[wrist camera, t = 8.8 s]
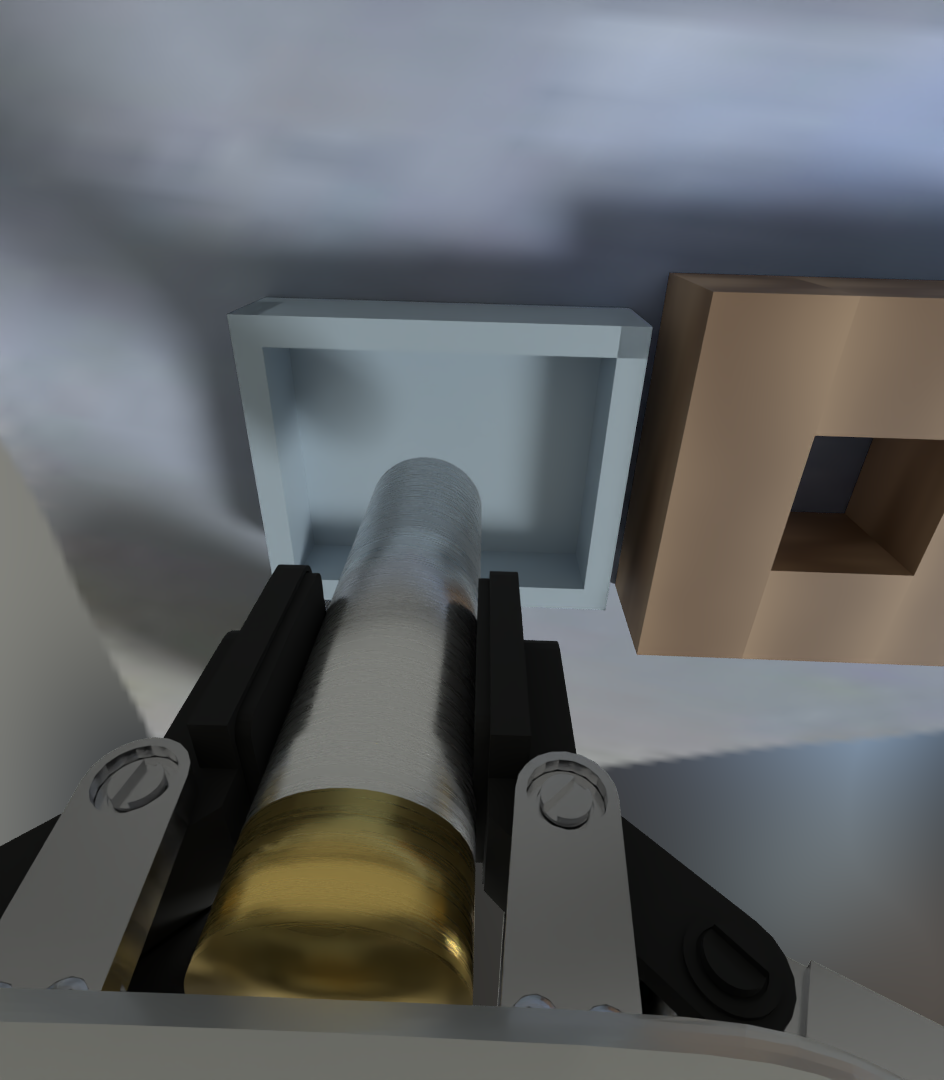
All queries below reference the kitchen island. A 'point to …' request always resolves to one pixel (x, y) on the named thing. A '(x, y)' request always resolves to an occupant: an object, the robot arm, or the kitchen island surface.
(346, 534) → the tray
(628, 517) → the socket block
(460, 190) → the kitchen island surface
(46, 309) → the kitchen island surface
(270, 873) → the pin
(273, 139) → the kitchen island surface
